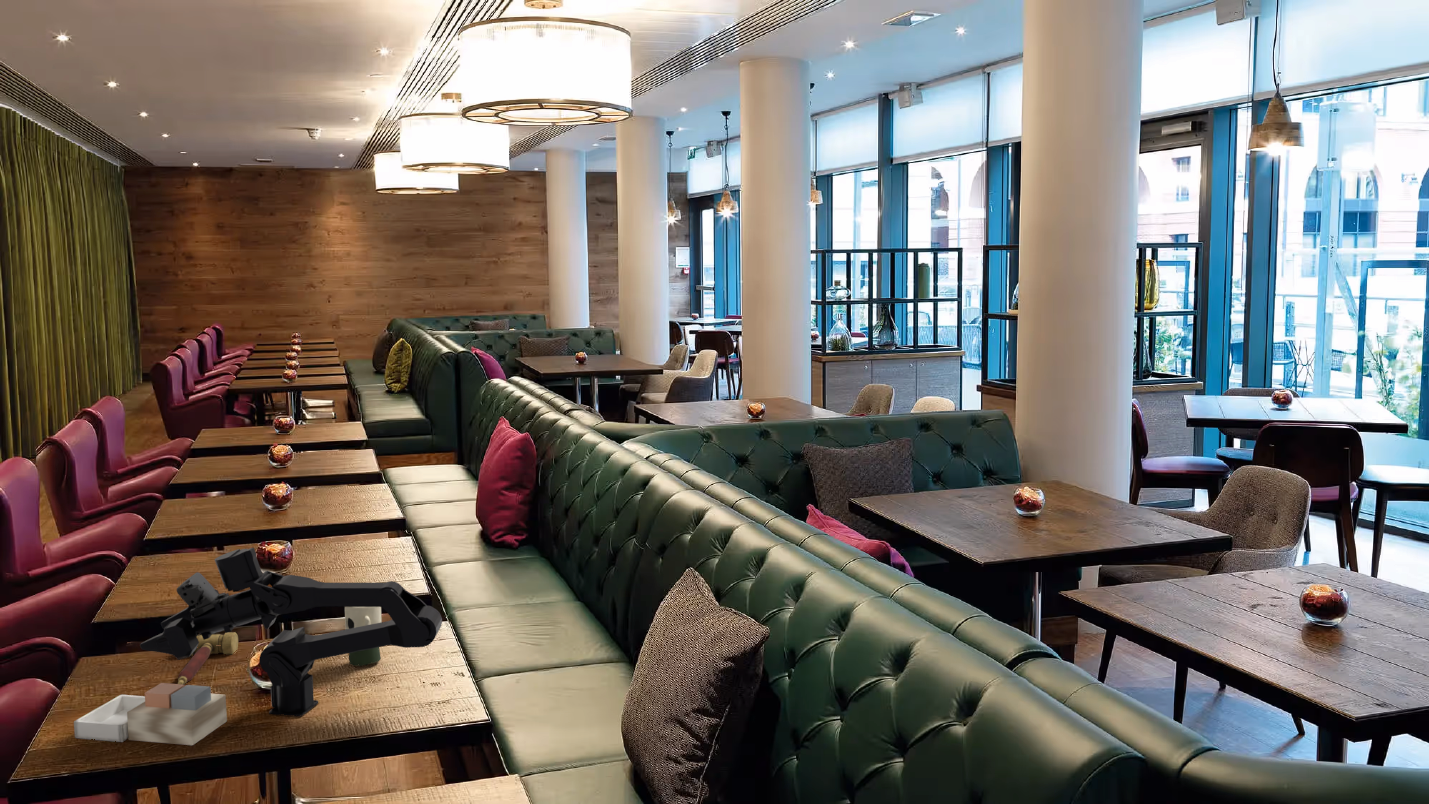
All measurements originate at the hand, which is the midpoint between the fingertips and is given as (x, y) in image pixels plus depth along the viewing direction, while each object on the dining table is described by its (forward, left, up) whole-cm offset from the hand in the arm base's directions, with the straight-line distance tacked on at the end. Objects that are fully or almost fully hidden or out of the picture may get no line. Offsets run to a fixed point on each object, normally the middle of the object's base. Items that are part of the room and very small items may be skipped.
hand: (151, 635), depth 200 cm
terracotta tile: (-7, +7, -9) cm, 13 cm away
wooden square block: (-9, +7, -14) cm, 18 cm away
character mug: (-26, -29, -15) cm, 42 cm away
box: (+2, +7, -14) cm, 16 cm away
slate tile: (-12, +7, -9) cm, 17 cm away
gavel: (+6, -21, -15) cm, 27 cm away
